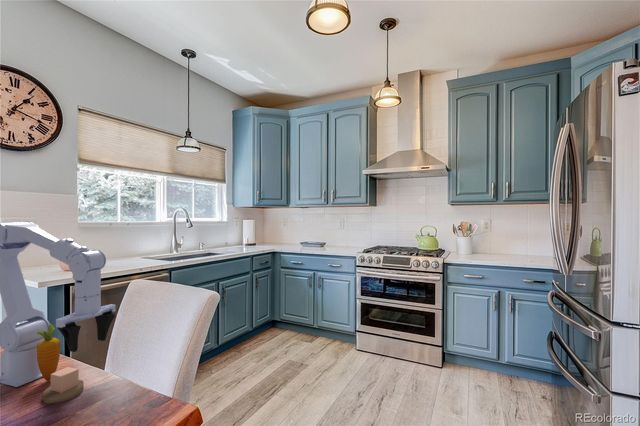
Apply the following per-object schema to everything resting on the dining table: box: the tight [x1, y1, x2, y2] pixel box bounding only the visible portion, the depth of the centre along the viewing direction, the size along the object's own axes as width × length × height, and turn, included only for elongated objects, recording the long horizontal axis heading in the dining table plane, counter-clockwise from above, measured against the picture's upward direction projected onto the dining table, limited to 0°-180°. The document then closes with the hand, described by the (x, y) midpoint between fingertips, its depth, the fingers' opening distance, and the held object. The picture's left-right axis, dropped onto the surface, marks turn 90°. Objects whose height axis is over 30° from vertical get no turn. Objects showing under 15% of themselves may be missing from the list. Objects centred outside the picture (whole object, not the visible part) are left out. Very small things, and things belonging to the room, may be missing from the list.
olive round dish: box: [42, 379, 85, 404], centre depth 80 cm, size 8×8×2 cm
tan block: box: [50, 366, 80, 393], centre depth 80 cm, size 4×4×4 cm
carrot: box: [37, 324, 61, 382], centre depth 87 cm, size 5×5×15 cm
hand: (88, 345), depth 86 cm, fingers open, 7 cm apart
